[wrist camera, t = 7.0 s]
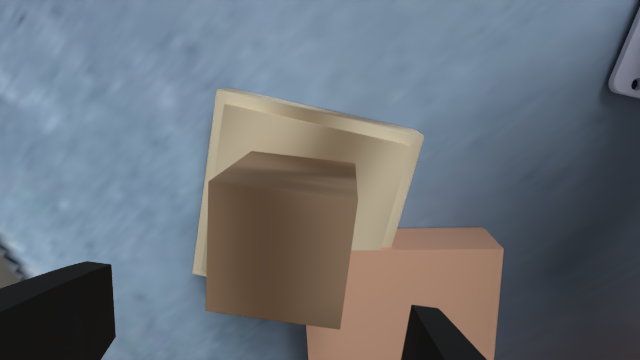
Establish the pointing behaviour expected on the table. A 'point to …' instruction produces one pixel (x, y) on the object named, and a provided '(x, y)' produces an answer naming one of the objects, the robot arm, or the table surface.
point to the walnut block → (281, 238)
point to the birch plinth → (316, 156)
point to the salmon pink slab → (415, 293)
